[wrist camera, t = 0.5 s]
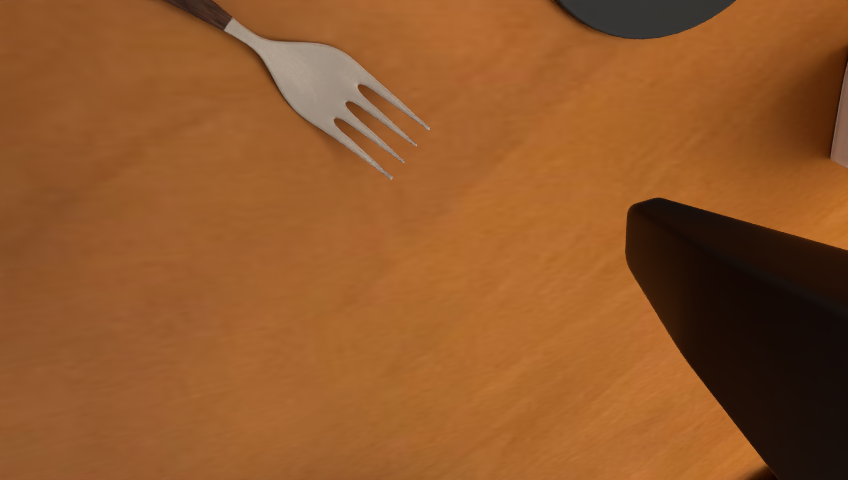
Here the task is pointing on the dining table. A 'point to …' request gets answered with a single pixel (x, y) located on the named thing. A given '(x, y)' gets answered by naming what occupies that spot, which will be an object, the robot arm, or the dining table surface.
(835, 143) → the syrup box
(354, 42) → the dining table surface
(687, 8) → the coaster
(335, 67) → the fork
